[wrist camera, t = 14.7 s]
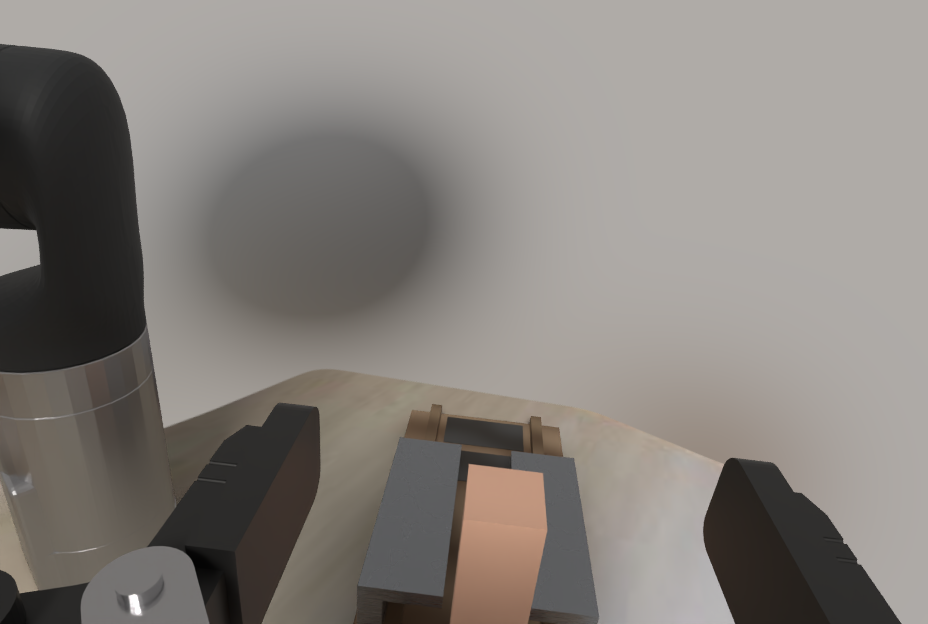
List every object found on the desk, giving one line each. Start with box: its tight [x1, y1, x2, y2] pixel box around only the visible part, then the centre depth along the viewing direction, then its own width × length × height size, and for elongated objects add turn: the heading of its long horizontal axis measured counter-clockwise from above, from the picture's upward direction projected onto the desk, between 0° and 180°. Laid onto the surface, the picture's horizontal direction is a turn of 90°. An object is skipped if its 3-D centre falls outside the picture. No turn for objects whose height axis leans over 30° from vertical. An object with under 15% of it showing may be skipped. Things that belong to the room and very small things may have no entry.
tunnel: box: [357, 437, 599, 624], centre depth 40 cm, size 14×14×5 cm
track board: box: [353, 404, 563, 624], centre depth 41 cm, size 36×15×2 cm, turn 176°
